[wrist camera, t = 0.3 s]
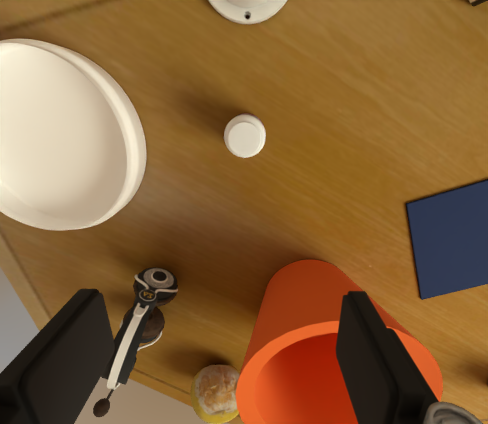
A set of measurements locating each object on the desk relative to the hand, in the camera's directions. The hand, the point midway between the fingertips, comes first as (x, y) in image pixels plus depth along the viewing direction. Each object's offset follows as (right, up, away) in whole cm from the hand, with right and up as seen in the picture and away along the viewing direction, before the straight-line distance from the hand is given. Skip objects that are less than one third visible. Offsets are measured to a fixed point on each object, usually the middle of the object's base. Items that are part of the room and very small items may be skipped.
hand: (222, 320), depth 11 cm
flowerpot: (+13, -12, +42) cm, 46 cm away
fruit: (-4, -30, +50) cm, 58 cm away
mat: (+40, 0, +36) cm, 54 cm away
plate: (-28, +15, +33) cm, 46 cm away
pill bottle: (+1, +16, +31) cm, 36 cm away
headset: (-16, -11, +43) cm, 47 cm away
